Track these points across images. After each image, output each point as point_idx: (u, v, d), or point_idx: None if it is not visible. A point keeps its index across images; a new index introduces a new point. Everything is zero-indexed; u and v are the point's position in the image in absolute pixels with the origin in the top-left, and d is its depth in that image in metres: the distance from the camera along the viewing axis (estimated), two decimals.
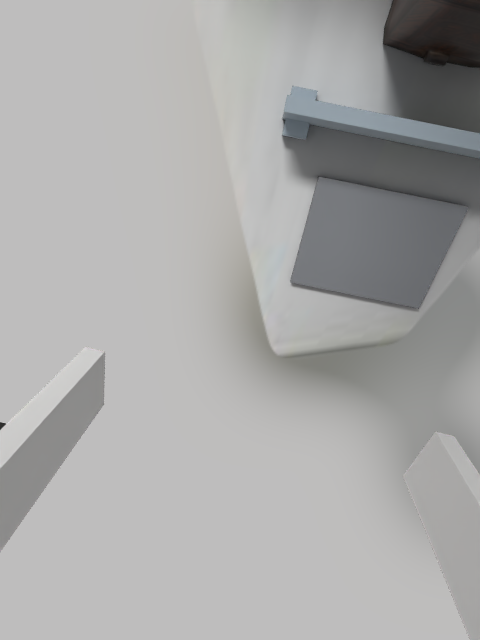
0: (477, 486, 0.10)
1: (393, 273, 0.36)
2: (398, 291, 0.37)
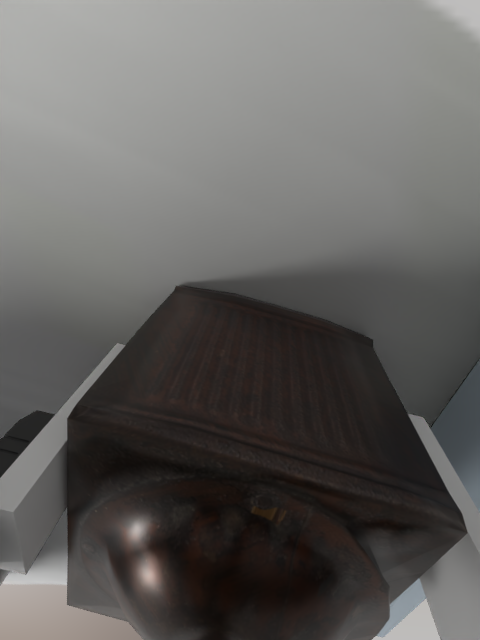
0: (439, 461, 0.10)
1: None
2: None
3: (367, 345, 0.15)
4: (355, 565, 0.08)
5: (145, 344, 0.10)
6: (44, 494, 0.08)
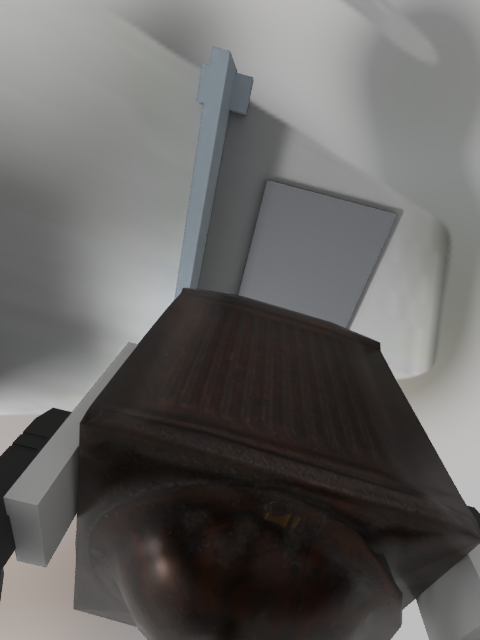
0: None
1: (338, 254, 0.30)
2: (365, 244, 0.29)
3: (375, 348, 0.15)
4: (369, 572, 0.08)
5: (154, 347, 0.10)
6: (64, 488, 0.08)
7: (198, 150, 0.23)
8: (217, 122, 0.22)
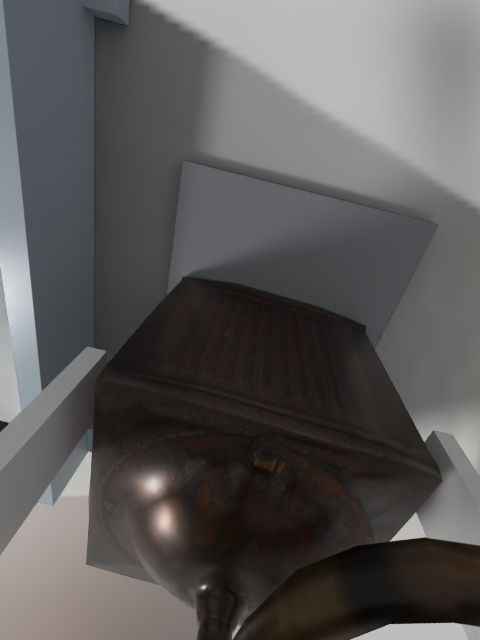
0: (475, 484, 0.10)
1: (326, 297, 0.16)
2: (375, 280, 0.16)
3: (360, 330, 0.16)
4: (345, 511, 0.09)
5: (157, 325, 0.12)
6: None
7: None
8: (4, 5, 0.09)
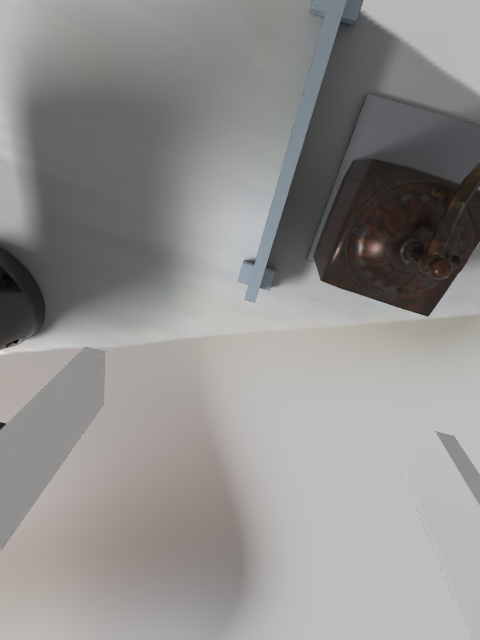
0: (477, 486, 0.10)
1: None
2: (458, 163, 0.30)
3: None
4: (464, 218, 0.23)
5: None
6: None
7: (317, 47, 0.24)
8: (340, 17, 0.23)
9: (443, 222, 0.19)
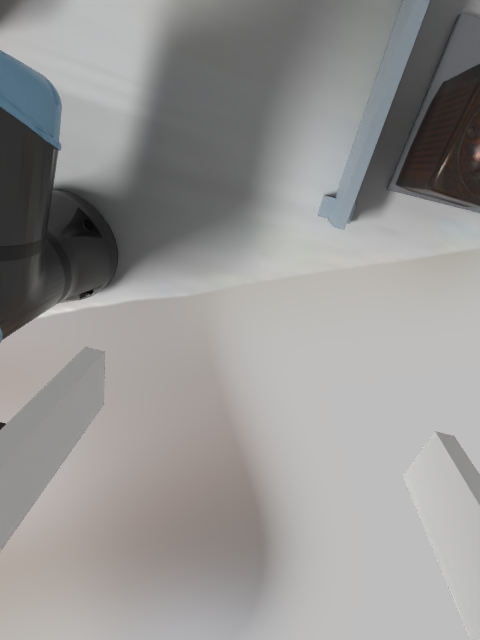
0: (477, 486, 0.10)
1: None
2: None
3: None
4: None
5: None
6: None
7: None
8: None
9: None
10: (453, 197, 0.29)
